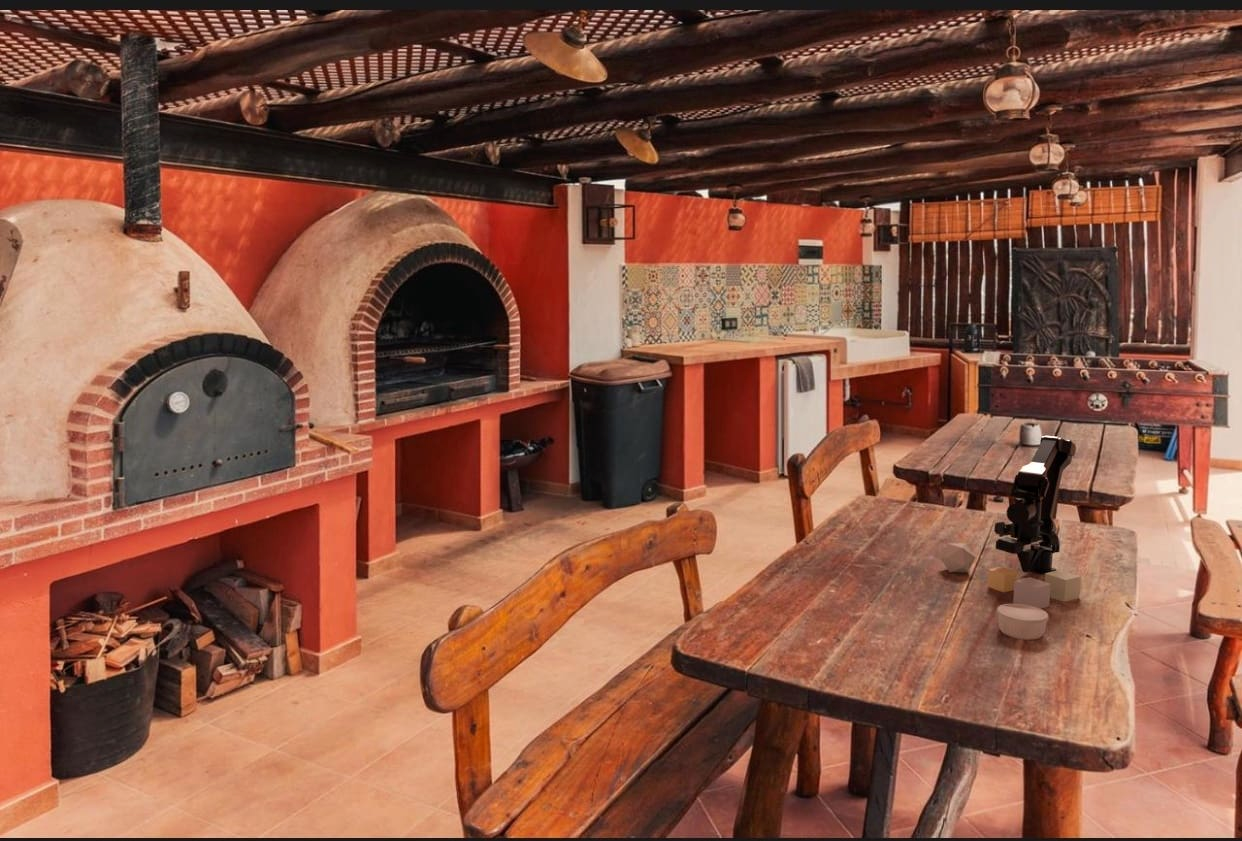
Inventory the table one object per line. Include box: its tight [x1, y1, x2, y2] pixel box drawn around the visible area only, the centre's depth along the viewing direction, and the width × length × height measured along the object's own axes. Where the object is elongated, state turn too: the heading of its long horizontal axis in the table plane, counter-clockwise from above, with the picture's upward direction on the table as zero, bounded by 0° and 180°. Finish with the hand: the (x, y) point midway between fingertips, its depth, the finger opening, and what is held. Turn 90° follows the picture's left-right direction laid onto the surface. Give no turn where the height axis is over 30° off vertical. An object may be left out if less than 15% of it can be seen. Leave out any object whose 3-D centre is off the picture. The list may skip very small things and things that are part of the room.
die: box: [940, 542, 976, 573], centre depth 258 cm, size 8×9×10 cm
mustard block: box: [987, 566, 1018, 593], centre depth 244 cm, size 5×5×5 cm
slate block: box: [1012, 576, 1051, 610], centre depth 231 cm, size 6×6×6 cm
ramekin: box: [996, 603, 1049, 641], centre depth 213 cm, size 11×11×5 cm
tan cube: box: [1044, 569, 1082, 603], centre depth 237 cm, size 6×6×6 cm
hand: (1025, 571), depth 248 cm, fingers closed
